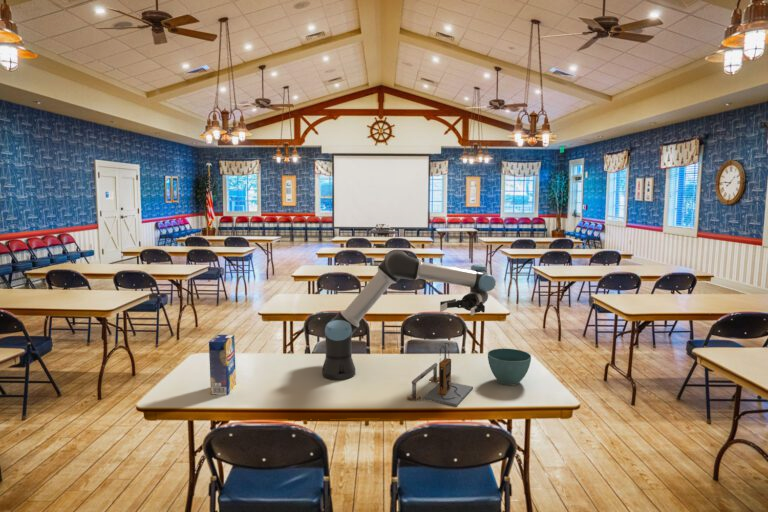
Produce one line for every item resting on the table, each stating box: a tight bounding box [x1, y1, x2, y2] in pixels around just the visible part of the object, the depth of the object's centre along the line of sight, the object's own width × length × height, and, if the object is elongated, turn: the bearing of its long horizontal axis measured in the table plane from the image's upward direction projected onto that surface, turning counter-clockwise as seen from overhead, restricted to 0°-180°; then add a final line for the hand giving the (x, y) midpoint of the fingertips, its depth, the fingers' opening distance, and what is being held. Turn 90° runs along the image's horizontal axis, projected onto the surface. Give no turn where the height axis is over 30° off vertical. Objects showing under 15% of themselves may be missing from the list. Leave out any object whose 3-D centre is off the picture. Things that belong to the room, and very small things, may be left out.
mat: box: [422, 381, 474, 407], centre depth 202 cm, size 14×20×1 cm
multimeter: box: [438, 342, 463, 399], centre depth 199 cm, size 15×10×20 cm
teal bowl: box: [487, 348, 532, 386], centre depth 215 cm, size 18×18×12 cm
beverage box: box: [208, 334, 237, 396], centre depth 204 cm, size 7×11×22 cm, turn 0°
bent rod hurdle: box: [407, 362, 439, 402], centre depth 206 cm, size 4×26×8 cm, turn 152°
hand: (455, 310), depth 210 cm, fingers open, 13 cm apart
